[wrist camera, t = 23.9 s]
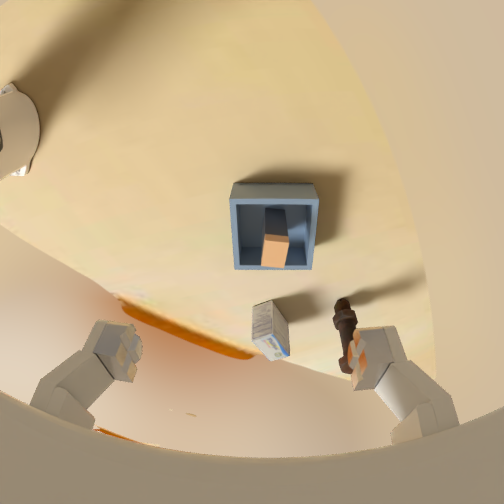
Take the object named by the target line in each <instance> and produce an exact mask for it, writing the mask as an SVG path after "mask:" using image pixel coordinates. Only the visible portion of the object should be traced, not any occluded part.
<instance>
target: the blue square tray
mask: <svg viewBox="0 0 504 504" xmlns="http://www.w3.org/2000/svg"><path fill="white" fill-rule="evenodd" d="M229 200H230V214H231V228H232V242H233V255H234V268H235V270H312V262H313V253H314V245H315V236H316V226H317V216H318V206H319V198H318V195H317V193H316V190H315V188H314V185H313V183H234V184H233V187H232V191H231V195H230V199H229ZM265 208H273V209H282V210H285V213H286V221H287V229H288V237H289V247H288V251H287V256H286V261H285V266H284V268H275V267H266V266H261V251H262V226H263V219H264V212H265Z"/></svg>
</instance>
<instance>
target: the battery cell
mask: <svg viewBox="0 0 504 504" xmlns="http://www.w3.org/2000/svg"><path fill="white" fill-rule="evenodd" d="M288 247H289V237H288V229H287V221H286V213H285V210H282V209H273V208H265V212H264V219H263V226H262V251H261V266H266V267H275V268H284V266H285V261H286V256H287V251H288Z"/></svg>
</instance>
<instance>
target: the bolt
mask: <svg viewBox="0 0 504 504" xmlns="http://www.w3.org/2000/svg"><path fill="white" fill-rule="evenodd" d="M334 309H335V315H334V317H333V322H334V325H335V328H336V329H337V330H339V332H340V337H341V343H342V347H343V355H344V356H343V357H342V358H340V359H339V365H340V368H341V371H342V372H343V373H346V374H352V372H353V369H352V368H351V367H350V366H349V364H348V355H347V354H348V347H349V344H350V342H351V341H352V340H354V338H353V333H354V330H355V329H356V324H357V323H358V321H357V318H356V314H355V311H354V310H351V308H350V304H349V302H348V301H347V300H345V299H342V300H341V301H340V300H338V301H337V302H336V305H335V307H334Z"/></svg>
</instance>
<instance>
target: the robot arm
mask: <svg viewBox="0 0 504 504" xmlns="http://www.w3.org/2000/svg"><path fill="white" fill-rule="evenodd" d="M39 134H40V126H39V118H38V114H37V111H36V108H35V106H34V104H33V102H32V101H31V99H30V98H29V97H28V96H26V95H25V94H23V93H21V92H19V91H18V90H17V89H16V87H15V86H14V85H13V84H12V83H10V84H8V85H6V86H5V87H4V88H3V89H2V90H1V91H0V181H1V180H2V179H4V178H6V177H7V176H9V175H12V176H24V175H26V174H28V172H29V167H30V161H31V159H32V157H33V155H34V153H35V151H36V149H37V146H38V142H39ZM135 331H136V329H135V327H134V325H133V324H128V323H121V322H114V321H108V320H100V319H99V320H98V321H96V323H95V325H94V327H93V329H92V331H91V333H90V335H89V337H88V339H87V341H86V343H85V345H84V347H83V349H82V351H80V350H79V351H77V352H76V353H75V354H73V355H72V356H71V357H69V358H68V359H67V360H65V361H64V362H63V363H61V364H60V365H59V366H58V367H56V368H55V369H54V370H52V371H51V372H50V373H48V374H47V375H46V376H44V377H43V378H42V379H40V382H39V384H38V386H37V388H36V391H35V393H34V395H33V398H32V400H31V403H30V405H28V404H26V403H24V402H22V401H20V400H18V399H16V398H14V397H12V396H10V395H8V394H6V393H5V392H3V391H1V390H0V504H504V407H502V408H500V409H497V410H495V411H493V412H491V413H489V414H486V415H484V416H482V417H479V418H477V419H474V420H472V421H469V422H467V423H464V424H462V425H459V421H458V418H457V414H456V411H455V408H454V404H453V401H452V398H451V396H450V395H449V394H448V393H447V392H446V391H445V390H444V389H443V388H441V387H440V386H439V385H438V384H437V383H436V382H435V381H434V380H433V379H431V378H430V377H429V376H428V375H427V374H426V373H425V372H424V371H422V370H421V369H420V368H419V367H418V366H417V365H416V364H414V363H413V362H412V361H411V360H410V361H407V358H406V355H405V352H404V349H403V346H402V343H401V341H400V338H399V335H398V332H397V330H396V328H395V327H394V326H384V327H368V328H356V329H355V330H354V333H353V338H354V340H352V341H351V342H350V344H349V347H348V354H347V355H348V364H349V366H350V367H351V368H352V369H353V372H352V374H351V380H352V385H353V390H354V391H357V390H367V389H374V390H375V391H376V393H377V394H378V395H379V396H380V397H381V399H382V400H383V401H384V402H385V403H386V405H387V406H388V407H389V408H390V409H391V411H392V412H393V413H394V414H395V415H396V417H397V418H398V419H399V420H400V421H401V423H400V424H398V425H397V426H396V427H395V428H394V429H393V430H392V431H391V433H390V434H391V440H392V445H389V446H384V447H379V448H374V449H368V450H362V451H355V452H348V453H341V454H332V455H322V456H309V457H288V458H252V457H251V458H250V457H231V456H230V457H229V456H218V455H208V454H199V453H191V452H184V451H178V450H171V449H166V448H160V447H155V446H150V445H146V444H141V443H137V442H133V441H128V440H125V439H121V438H117V437H113V436H110V435H106V434H103V433H99V432H97V431H93V430H92V429H93V426H94V422H95V418H94V416H93V415H92V414H90V413H89V412H88V411H87V409H88V407H89V406H90V405H91V404H92V403H93V402H94V401H95V400H96V399H97V398H98V397H99V396H100V395H101V394H102V393H103V392H104V391H105V390H106V389H107V388H108V387H109V386H110V385H111V384H112V383H113V382H114V380H119V381H125V382H133V380H134V377H135V374H136V371H137V367H136V365H135V363H137V362H138V361H139V360H140V358H141V355H142V347H143V346H142V341H141V339H140V337H139V336H138V335H136V334H135Z"/></svg>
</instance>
